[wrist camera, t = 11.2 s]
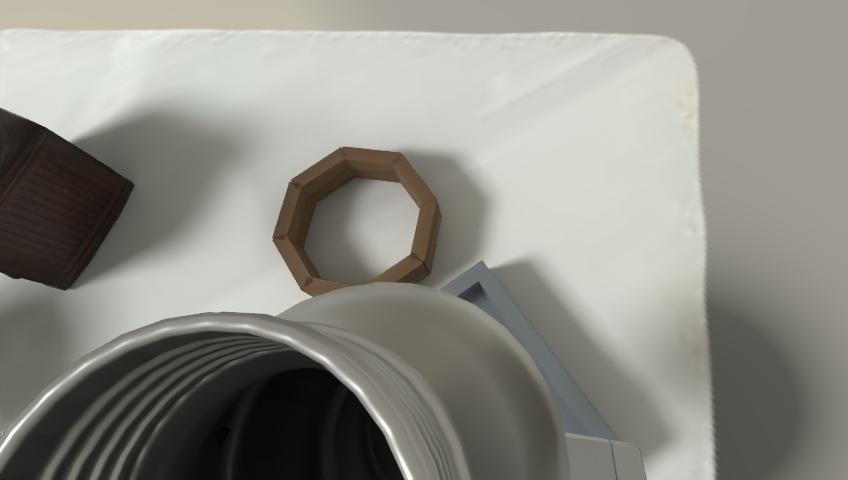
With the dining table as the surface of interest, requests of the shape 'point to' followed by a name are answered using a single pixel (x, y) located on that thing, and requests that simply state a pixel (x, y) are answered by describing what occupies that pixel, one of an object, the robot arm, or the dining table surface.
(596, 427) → the charcoal tray
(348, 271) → the dining table surface
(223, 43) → the dining table surface
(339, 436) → the plastic bottle
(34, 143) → the manual coffee grinder
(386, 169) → the walnut collar
